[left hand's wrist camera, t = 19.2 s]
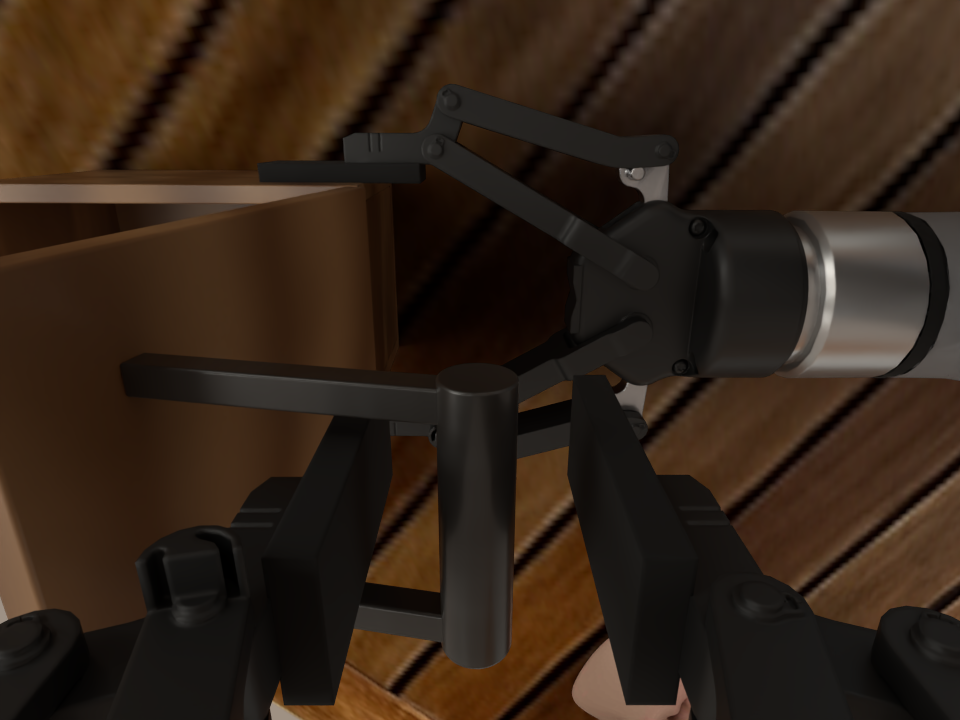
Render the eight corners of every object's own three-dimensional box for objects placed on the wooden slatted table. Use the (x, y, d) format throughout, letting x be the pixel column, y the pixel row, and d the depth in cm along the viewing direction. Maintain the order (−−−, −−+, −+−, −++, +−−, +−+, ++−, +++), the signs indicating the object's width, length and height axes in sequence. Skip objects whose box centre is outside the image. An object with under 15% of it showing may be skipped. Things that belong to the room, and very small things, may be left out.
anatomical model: (568, 772, 42) (609, 648, 38) (561, 720, 46) (598, 602, 42) (750, 795, 43) (808, 675, 39) (729, 742, 47) (780, 628, 43)
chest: (138, 346, 36) (24, 417, 27) (102, 169, 32) (-43, 183, 23) (399, 347, 36) (372, 418, 27) (391, 171, 32) (357, 185, 23)
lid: (60, 781, 12) (483, 875, 10) (-114, 278, 8) (489, 312, 7) (361, 422, 26) (553, 440, 25) (344, 186, 23) (567, 190, 21)
